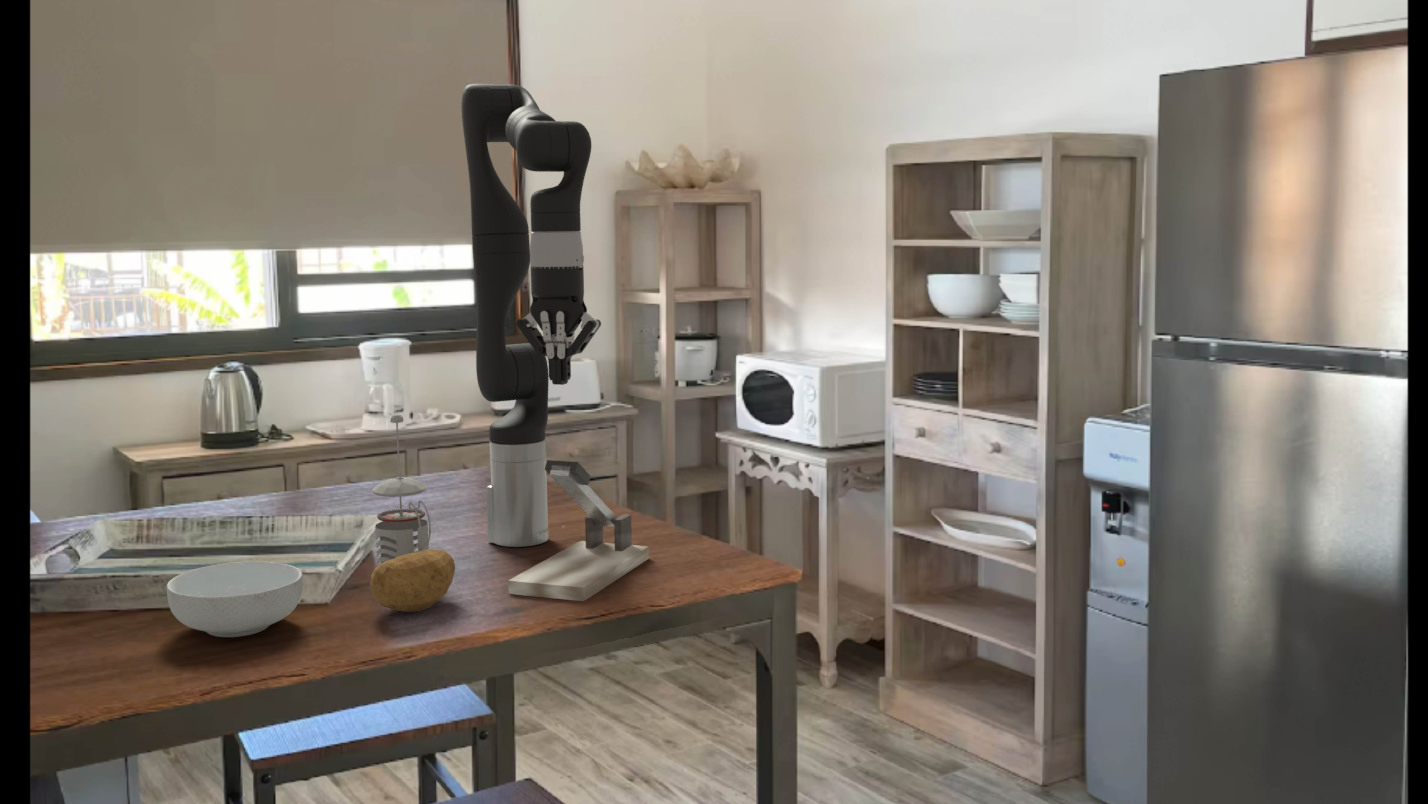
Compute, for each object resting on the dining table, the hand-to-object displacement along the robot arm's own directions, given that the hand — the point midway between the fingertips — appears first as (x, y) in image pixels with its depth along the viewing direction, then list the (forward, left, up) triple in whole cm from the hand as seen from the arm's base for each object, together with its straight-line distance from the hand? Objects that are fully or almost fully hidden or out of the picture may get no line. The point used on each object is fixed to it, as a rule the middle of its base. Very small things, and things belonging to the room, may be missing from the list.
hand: (560, 383), depth 186 cm
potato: (-15, -17, -30) cm, 38 cm away
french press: (-25, -4, -30) cm, 39 cm away
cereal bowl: (-33, -32, -30) cm, 55 cm away
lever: (0, +7, -19) cm, 20 cm away
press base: (0, +5, -30) cm, 30 cm away
